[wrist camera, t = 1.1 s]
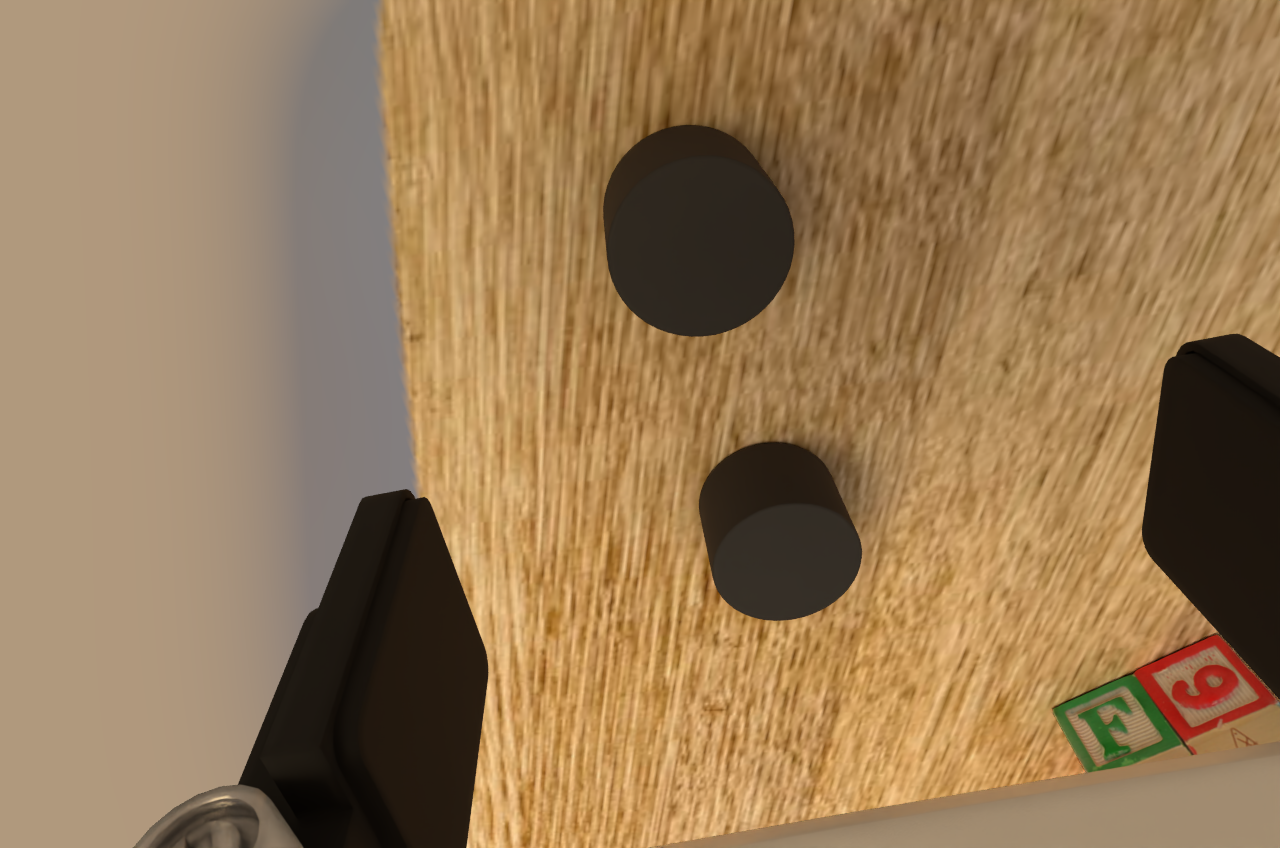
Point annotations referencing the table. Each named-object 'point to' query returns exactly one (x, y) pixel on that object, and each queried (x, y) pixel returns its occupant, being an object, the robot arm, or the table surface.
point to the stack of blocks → (1172, 710)
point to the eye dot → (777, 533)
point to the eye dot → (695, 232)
